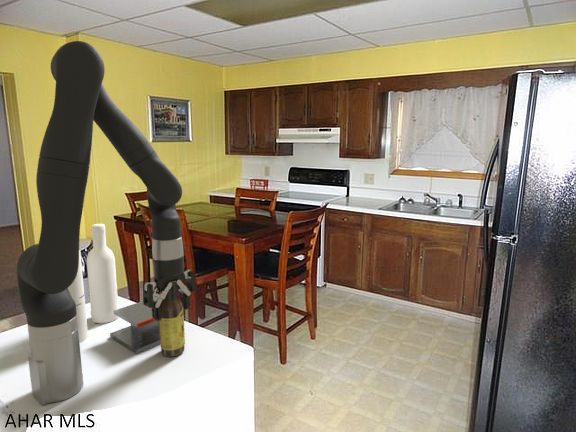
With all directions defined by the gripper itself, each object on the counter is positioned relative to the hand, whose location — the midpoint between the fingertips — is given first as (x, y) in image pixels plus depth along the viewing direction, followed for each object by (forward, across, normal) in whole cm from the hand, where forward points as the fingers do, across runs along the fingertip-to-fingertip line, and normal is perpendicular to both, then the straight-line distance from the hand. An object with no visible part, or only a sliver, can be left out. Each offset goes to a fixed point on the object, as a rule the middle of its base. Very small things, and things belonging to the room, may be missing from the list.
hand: (171, 314), depth 104 cm
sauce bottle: (+11, 0, 0) cm, 11 cm away
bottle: (+11, +2, -33) cm, 35 cm away
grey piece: (+10, 0, -13) cm, 17 cm away
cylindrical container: (+10, +14, -27) cm, 32 cm away
